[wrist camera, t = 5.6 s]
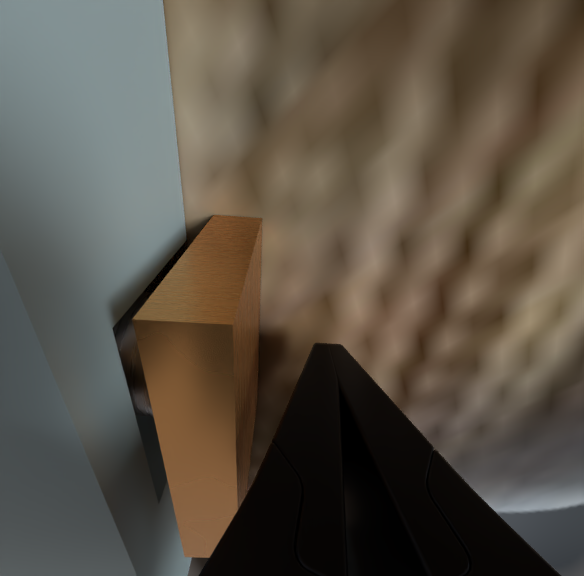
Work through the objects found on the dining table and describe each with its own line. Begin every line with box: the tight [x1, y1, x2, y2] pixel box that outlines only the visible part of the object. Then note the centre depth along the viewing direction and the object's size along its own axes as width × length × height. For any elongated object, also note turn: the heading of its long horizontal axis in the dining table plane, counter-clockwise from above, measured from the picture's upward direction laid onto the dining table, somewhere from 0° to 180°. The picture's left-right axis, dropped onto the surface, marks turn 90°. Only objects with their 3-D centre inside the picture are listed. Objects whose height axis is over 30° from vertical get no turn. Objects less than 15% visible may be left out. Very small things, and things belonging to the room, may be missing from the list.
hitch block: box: [0, 0, 192, 576], centre depth 7 cm, size 4×16×5 cm, turn 176°
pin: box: [112, 215, 262, 558], centre depth 7 cm, size 7×6×4 cm
